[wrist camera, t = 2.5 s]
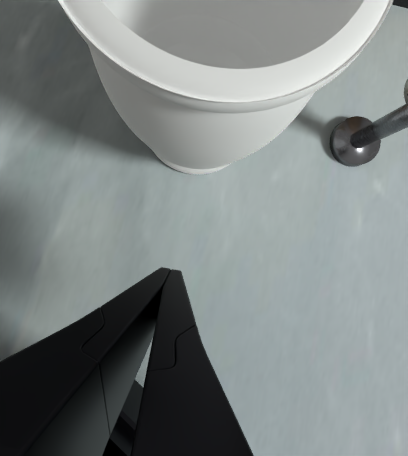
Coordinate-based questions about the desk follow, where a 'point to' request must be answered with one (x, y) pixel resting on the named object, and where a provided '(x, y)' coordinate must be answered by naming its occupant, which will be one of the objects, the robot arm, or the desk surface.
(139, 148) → the desk surface
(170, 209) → the desk surface
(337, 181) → the desk surface
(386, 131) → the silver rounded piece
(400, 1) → the ammunition clip
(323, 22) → the jar
